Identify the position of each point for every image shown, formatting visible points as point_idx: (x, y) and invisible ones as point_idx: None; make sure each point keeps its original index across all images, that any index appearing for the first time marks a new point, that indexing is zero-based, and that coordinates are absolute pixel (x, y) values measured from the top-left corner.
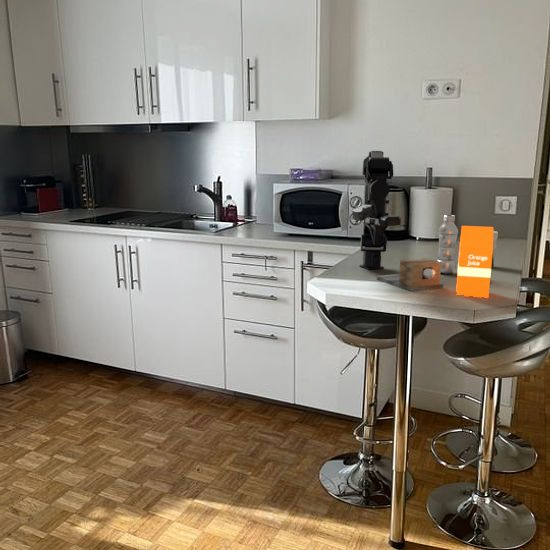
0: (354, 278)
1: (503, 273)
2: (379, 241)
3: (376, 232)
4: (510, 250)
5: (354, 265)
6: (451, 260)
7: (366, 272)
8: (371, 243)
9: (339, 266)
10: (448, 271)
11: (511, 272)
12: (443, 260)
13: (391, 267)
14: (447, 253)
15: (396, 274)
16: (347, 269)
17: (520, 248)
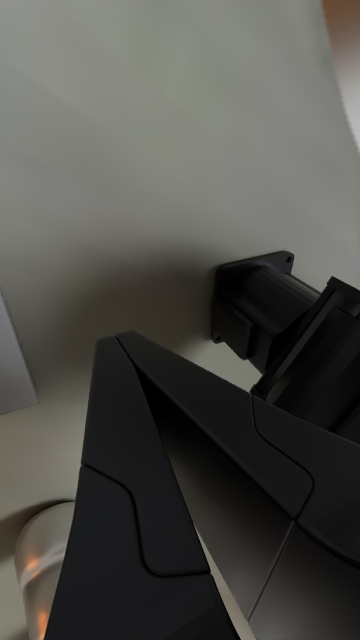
0: (28, 14)
1: (13, 626)
2: (291, 412)
3: (73, 566)
4: (226, 586)
5: (317, 240)
6: (23, 598)
7: (179, 228)
8: (316, 356)
9: (346, 153)
10: (16, 541)
11: (23, 635)
12: (37, 575)
13: (214, 371)
14: (31, 627)
15: (7, 350)
16: (281, 157)
17: (230, 593)
